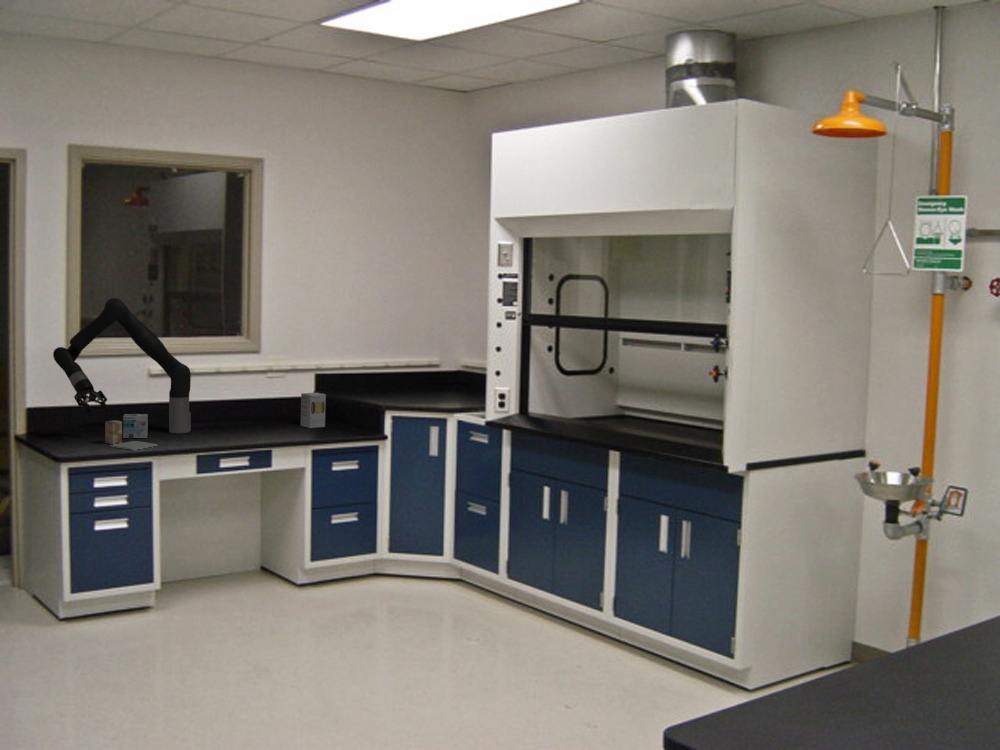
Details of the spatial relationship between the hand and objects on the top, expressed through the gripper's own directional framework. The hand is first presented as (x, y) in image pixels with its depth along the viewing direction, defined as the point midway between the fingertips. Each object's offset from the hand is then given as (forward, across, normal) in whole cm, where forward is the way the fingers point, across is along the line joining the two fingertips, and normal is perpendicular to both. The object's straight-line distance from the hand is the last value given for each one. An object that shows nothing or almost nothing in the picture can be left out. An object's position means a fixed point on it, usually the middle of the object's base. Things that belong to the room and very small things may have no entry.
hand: (98, 410), depth 487 cm
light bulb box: (+14, +16, +6) cm, 22 cm away
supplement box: (+41, +96, -22) cm, 107 cm away
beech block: (+17, 0, +3) cm, 17 cm away
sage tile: (+26, 0, -6) cm, 27 cm away
